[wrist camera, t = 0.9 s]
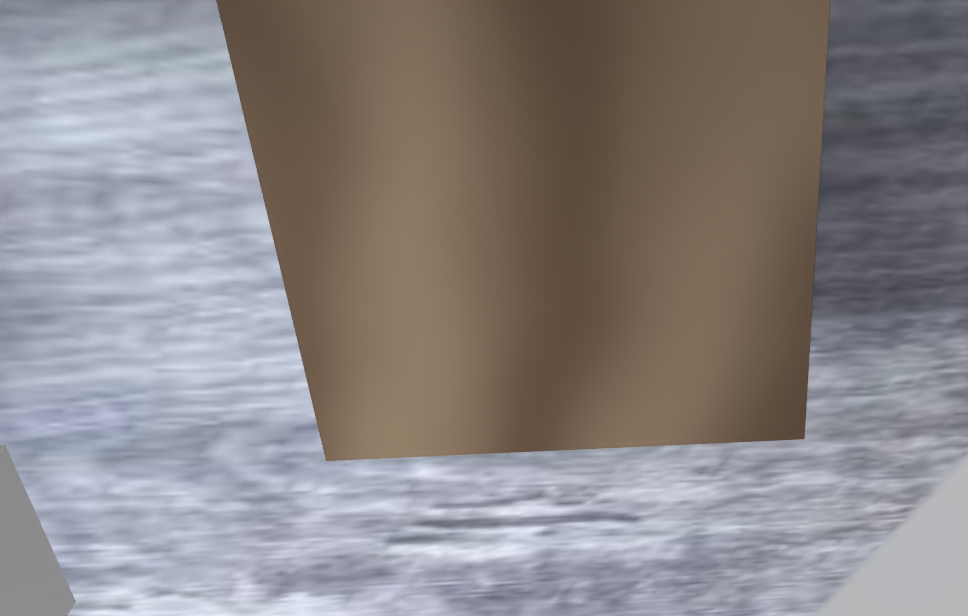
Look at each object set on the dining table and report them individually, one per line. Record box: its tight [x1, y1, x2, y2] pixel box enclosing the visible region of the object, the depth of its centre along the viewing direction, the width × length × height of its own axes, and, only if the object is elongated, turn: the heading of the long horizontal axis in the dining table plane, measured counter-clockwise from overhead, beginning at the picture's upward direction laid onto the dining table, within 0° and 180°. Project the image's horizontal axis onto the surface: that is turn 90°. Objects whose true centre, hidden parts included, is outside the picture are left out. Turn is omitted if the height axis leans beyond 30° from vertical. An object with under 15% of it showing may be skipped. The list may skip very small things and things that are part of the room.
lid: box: [217, 0, 830, 461], centre depth 21 cm, size 12×12×2 cm
